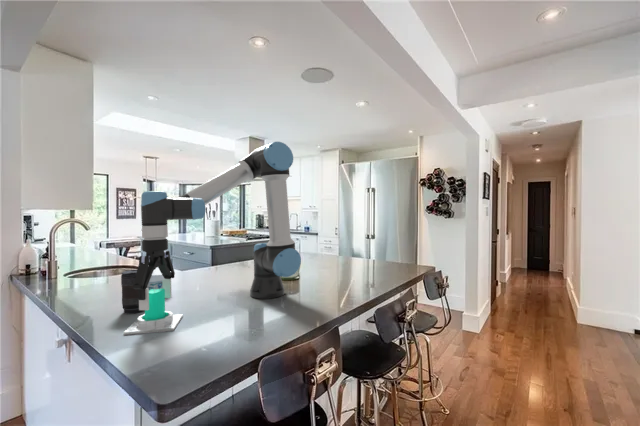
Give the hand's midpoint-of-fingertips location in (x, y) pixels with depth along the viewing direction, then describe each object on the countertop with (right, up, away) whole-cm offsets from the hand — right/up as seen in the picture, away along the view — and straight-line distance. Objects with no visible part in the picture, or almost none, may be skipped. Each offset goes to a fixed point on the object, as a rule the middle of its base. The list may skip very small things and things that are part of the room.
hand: (156, 303), depth 103 cm
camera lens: (-16, -7, +15) cm, 23 cm away
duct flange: (0, -7, 0) cm, 7 cm away
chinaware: (-21, -7, +37) cm, 43 cm away
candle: (0, -6, 0) cm, 6 cm away
